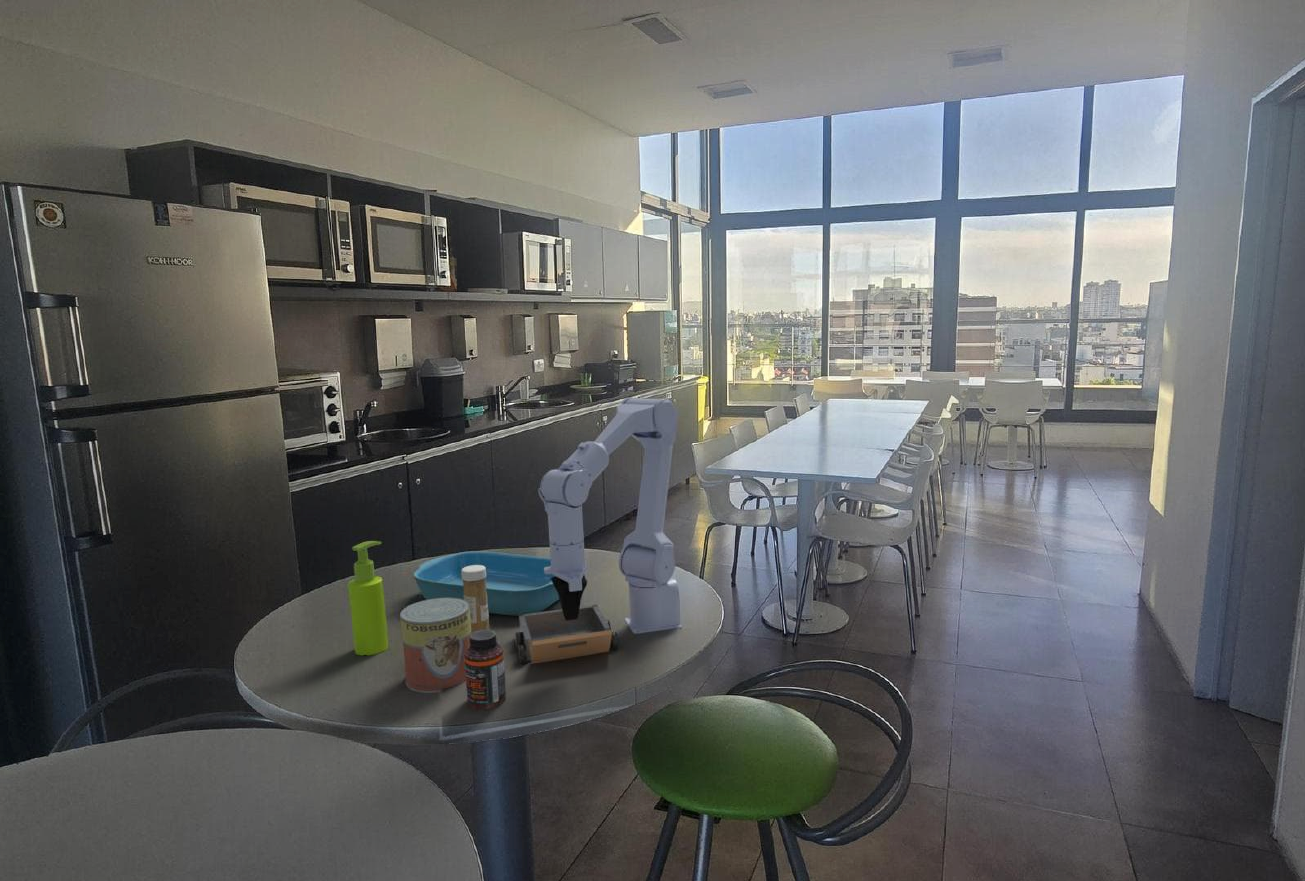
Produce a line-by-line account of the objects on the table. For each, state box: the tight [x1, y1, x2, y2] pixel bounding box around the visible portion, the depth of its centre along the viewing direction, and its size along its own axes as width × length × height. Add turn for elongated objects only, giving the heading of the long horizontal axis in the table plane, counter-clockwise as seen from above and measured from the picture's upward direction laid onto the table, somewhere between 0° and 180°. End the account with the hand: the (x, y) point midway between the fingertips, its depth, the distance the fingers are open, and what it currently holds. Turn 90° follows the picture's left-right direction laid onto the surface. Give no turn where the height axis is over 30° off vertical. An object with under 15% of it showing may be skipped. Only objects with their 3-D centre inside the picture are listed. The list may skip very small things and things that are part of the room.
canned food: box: [399, 598, 471, 694], centre depth 127 cm, size 11×11×12 cm
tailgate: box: [530, 629, 613, 664], centre depth 131 cm, size 14×1×6 cm
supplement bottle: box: [464, 629, 507, 710], centre depth 118 cm, size 6×6×11 cm
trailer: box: [514, 604, 620, 665], centre depth 139 cm, size 17×13×4 cm
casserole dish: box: [413, 550, 560, 617], centre depth 165 cm, size 37×22×7 cm, turn 68°
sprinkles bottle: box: [461, 565, 491, 634], centre depth 144 cm, size 5×5×13 cm
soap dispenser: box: [347, 540, 389, 656], centre depth 140 cm, size 6×7×20 cm
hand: (571, 618), depth 129 cm, fingers closed
